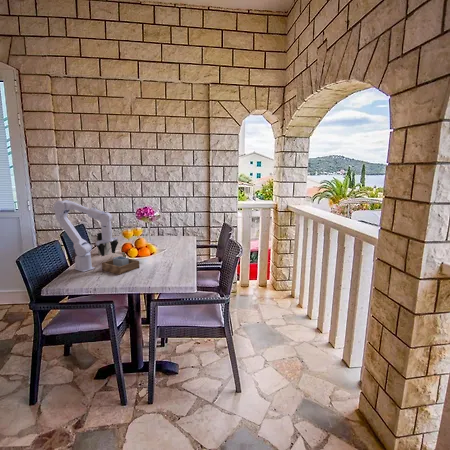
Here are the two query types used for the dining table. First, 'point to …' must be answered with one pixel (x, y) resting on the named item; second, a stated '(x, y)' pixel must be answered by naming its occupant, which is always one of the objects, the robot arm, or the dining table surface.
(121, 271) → the big crate
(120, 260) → the box
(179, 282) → the dining table surface
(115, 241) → the robot arm
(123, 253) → the flower pot
